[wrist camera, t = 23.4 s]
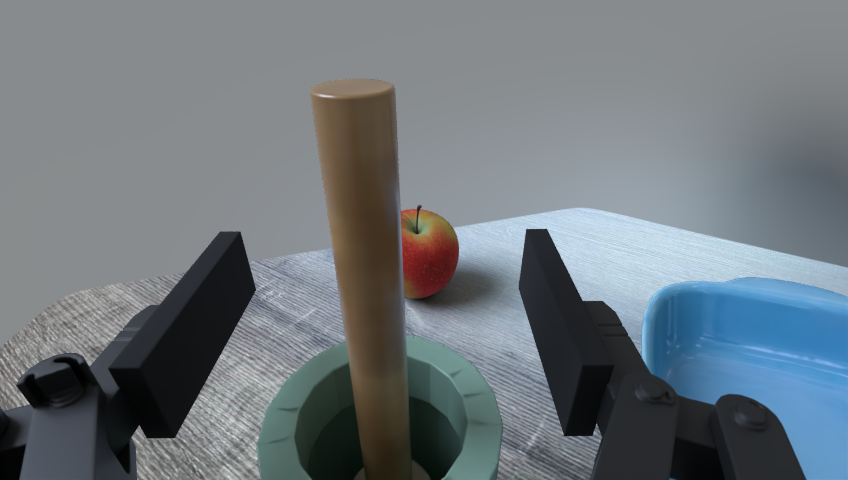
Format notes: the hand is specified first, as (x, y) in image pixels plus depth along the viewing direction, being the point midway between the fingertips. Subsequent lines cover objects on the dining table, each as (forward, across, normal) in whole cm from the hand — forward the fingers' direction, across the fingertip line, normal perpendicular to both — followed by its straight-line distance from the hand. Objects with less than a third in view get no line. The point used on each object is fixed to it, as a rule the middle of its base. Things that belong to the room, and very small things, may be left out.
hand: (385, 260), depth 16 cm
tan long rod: (-4, 0, -17) cm, 17 cm away
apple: (+21, +1, -18) cm, 28 cm away
